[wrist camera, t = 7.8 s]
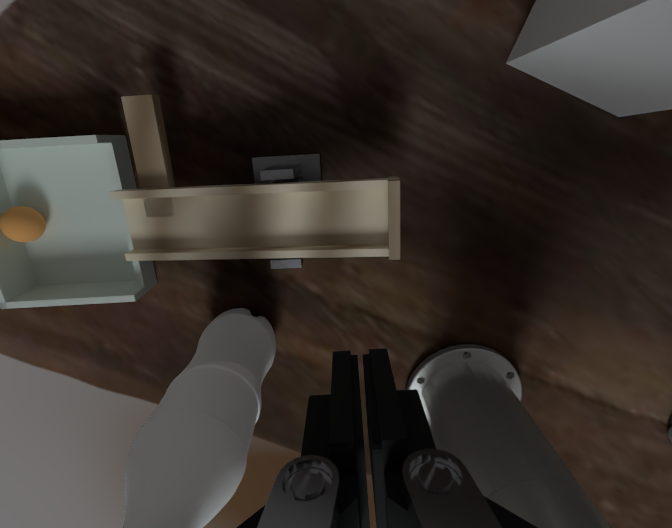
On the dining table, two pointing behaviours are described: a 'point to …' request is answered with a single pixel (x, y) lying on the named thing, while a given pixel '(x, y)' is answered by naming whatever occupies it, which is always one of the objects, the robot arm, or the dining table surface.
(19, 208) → the ball
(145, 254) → the lever
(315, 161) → the fulcrum
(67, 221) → the tray
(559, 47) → the milk
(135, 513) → the water bottle
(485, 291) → the dining table surface
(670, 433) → the ceramic mug
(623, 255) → the dining table surface
